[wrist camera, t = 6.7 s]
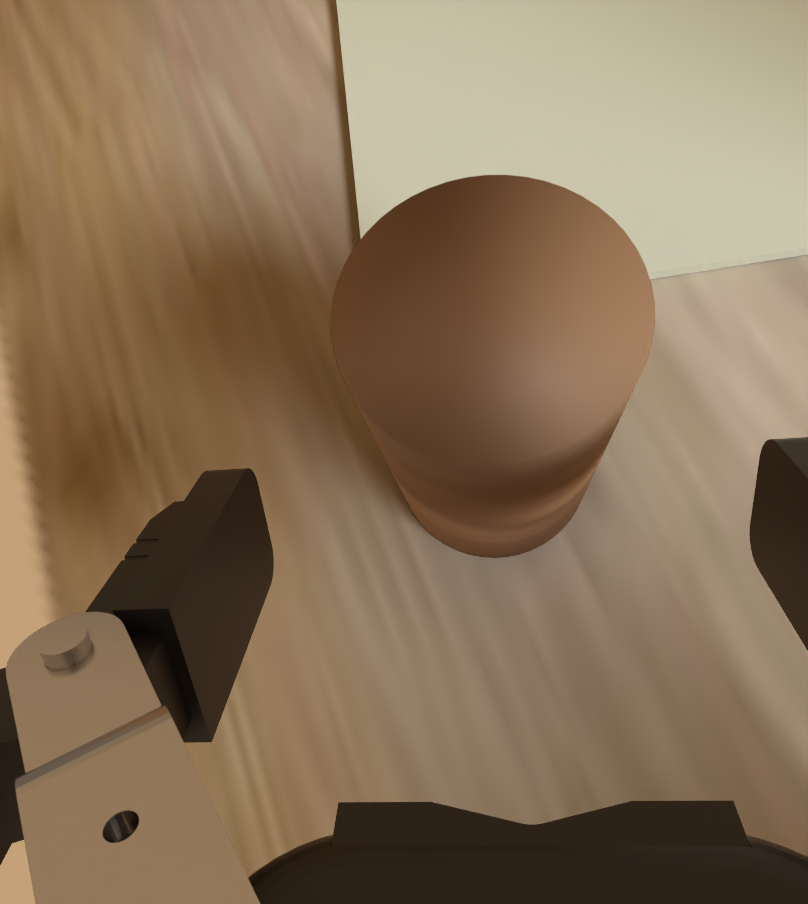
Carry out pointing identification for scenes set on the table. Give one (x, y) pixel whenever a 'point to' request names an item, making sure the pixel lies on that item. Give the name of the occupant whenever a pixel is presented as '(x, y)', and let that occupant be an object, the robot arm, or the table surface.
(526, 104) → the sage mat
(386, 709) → the table surface
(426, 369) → the walnut cylinder
